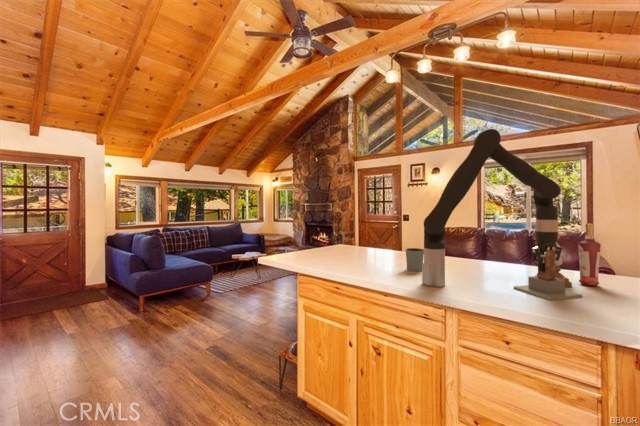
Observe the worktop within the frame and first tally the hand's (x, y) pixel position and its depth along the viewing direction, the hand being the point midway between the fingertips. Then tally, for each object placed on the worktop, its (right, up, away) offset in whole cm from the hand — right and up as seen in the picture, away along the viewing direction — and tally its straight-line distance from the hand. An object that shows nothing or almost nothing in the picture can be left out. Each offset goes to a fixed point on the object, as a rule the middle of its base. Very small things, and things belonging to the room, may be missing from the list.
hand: (546, 271), depth 119 cm
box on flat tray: (0, -9, 0) cm, 9 cm away
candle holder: (+14, -9, +15) cm, 22 cm away
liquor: (+28, -9, +10) cm, 31 cm away
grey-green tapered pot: (-40, -9, +45) cm, 61 cm away
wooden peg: (0, -5, 0) cm, 5 cm away
